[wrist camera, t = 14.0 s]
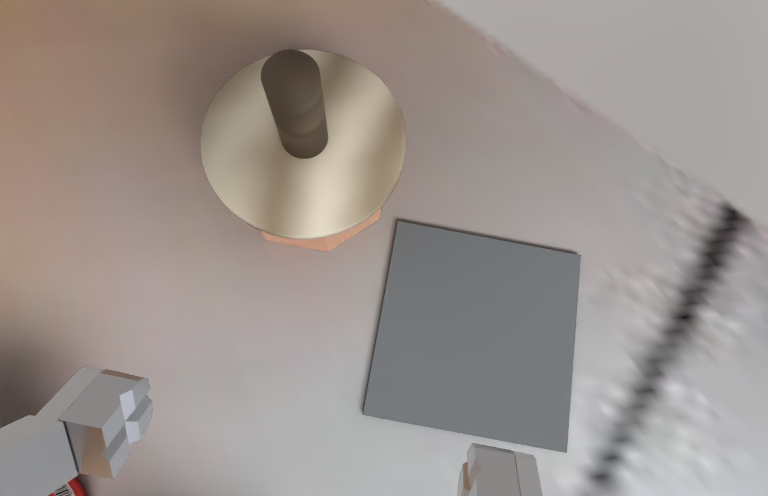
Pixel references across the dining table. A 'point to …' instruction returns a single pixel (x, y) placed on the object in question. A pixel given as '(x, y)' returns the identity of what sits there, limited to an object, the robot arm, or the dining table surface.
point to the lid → (303, 144)
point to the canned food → (70, 489)
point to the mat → (476, 337)
